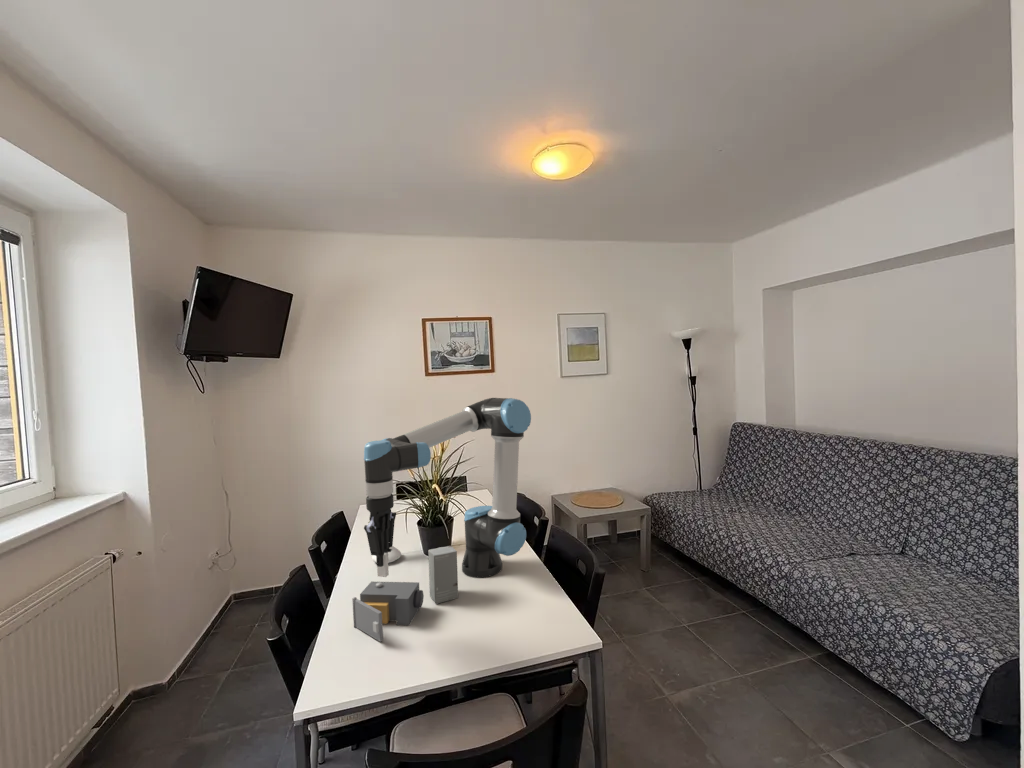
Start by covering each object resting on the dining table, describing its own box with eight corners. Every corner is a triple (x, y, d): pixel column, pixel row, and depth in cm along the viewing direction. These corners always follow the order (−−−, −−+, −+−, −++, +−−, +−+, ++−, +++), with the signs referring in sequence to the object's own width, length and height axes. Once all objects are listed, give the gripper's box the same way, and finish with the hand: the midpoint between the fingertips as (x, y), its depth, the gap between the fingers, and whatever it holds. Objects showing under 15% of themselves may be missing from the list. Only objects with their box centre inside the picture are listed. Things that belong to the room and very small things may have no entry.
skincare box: (435, 605, 142) (433, 556, 141) (428, 595, 148) (426, 549, 147) (460, 598, 146) (457, 550, 145) (452, 588, 152) (450, 543, 151)
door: (353, 628, 130) (352, 601, 130) (359, 625, 131) (357, 599, 131) (377, 643, 122) (376, 614, 122) (383, 639, 124) (381, 611, 123)
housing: (425, 607, 141) (423, 580, 140) (412, 629, 129) (410, 600, 128) (370, 605, 143) (369, 579, 143) (353, 627, 131) (351, 598, 131)
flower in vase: (405, 554, 182) (402, 494, 181) (395, 566, 171) (392, 502, 170) (374, 553, 184) (371, 494, 183) (363, 566, 172) (359, 503, 171)
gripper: (381, 488, 134) (384, 564, 135) (354, 500, 122) (358, 584, 123) (403, 489, 132) (406, 566, 133) (377, 502, 120) (381, 587, 120)
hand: (383, 575), depth 128 cm, fingers closed
